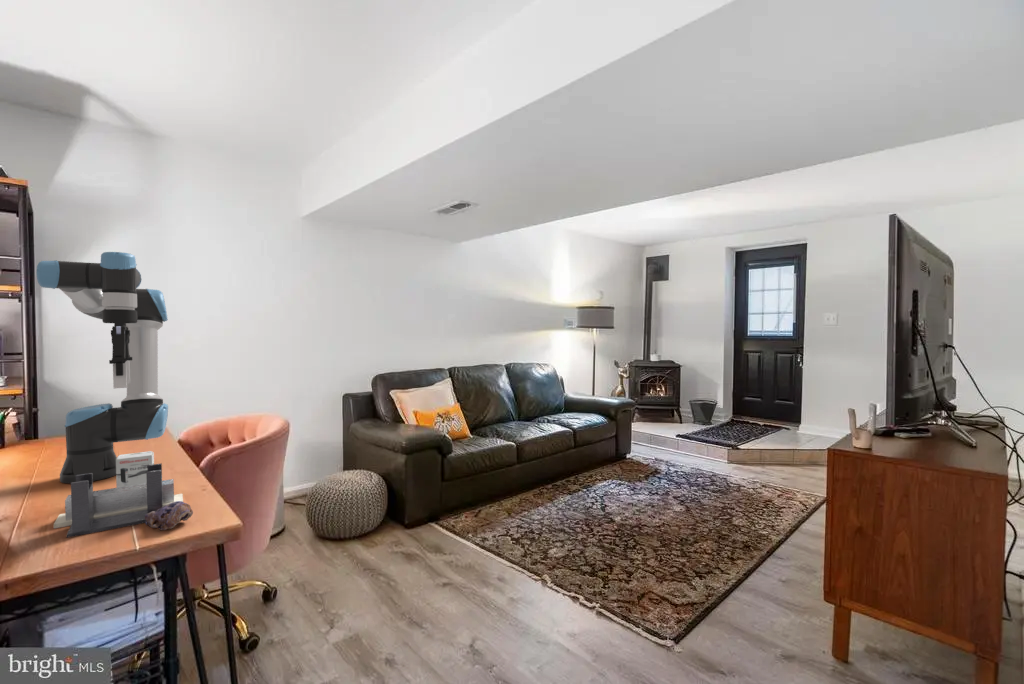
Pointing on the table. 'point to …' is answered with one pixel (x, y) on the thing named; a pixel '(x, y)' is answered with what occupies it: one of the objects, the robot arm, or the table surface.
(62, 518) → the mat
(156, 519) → the purple rock
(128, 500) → the whetstone
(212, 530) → the table surface
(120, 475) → the ink box
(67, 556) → the table surface
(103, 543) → the table surface
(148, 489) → the stand
